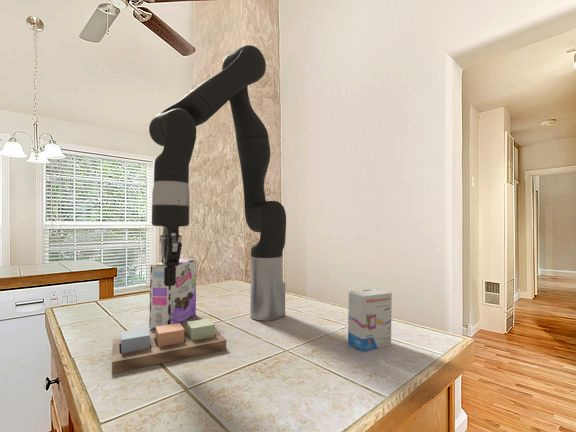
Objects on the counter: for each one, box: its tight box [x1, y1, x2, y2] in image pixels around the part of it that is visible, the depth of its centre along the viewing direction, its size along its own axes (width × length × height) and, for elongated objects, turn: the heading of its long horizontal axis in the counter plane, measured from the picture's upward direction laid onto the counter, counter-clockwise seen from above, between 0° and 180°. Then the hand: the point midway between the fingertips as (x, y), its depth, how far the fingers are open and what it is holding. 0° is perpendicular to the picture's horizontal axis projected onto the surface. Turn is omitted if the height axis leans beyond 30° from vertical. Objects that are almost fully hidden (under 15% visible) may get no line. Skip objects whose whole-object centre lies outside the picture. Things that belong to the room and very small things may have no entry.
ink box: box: [347, 287, 393, 353], centre depth 67 cm, size 9×5×12 cm, turn 117°
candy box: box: [148, 258, 197, 330], centre depth 83 cm, size 14×6×16 cm, turn 168°
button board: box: [111, 327, 227, 374], centre depth 65 cm, size 21×12×2 cm, turn 119°
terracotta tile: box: [154, 323, 184, 347], centre depth 65 cm, size 5×5×3 cm
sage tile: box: [186, 318, 216, 341], centre depth 68 cm, size 5×5×3 cm
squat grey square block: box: [120, 327, 151, 354], centre depth 61 cm, size 5×5×3 cm
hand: (169, 285), depth 65 cm, fingers closed
